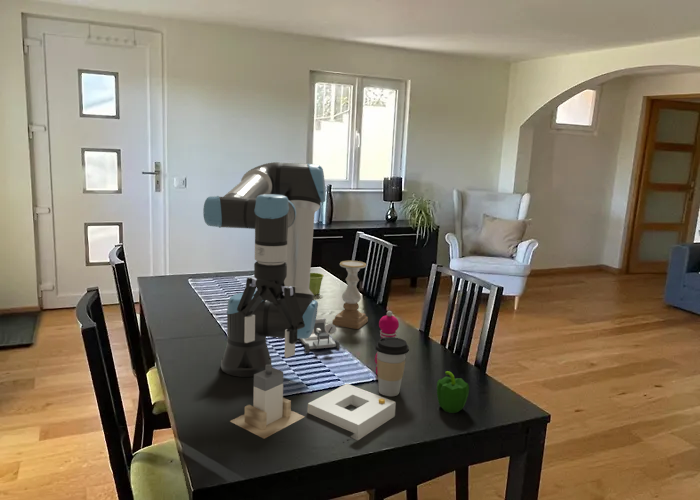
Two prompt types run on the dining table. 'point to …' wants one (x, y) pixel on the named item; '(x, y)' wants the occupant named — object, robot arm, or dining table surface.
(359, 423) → the port block
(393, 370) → the coffee cup
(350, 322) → the candle holder
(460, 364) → the dining table surface
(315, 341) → the grey mechanical device
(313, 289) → the plant pot
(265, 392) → the plug
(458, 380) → the bell pepper
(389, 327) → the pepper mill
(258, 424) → the plate with raised blocks
